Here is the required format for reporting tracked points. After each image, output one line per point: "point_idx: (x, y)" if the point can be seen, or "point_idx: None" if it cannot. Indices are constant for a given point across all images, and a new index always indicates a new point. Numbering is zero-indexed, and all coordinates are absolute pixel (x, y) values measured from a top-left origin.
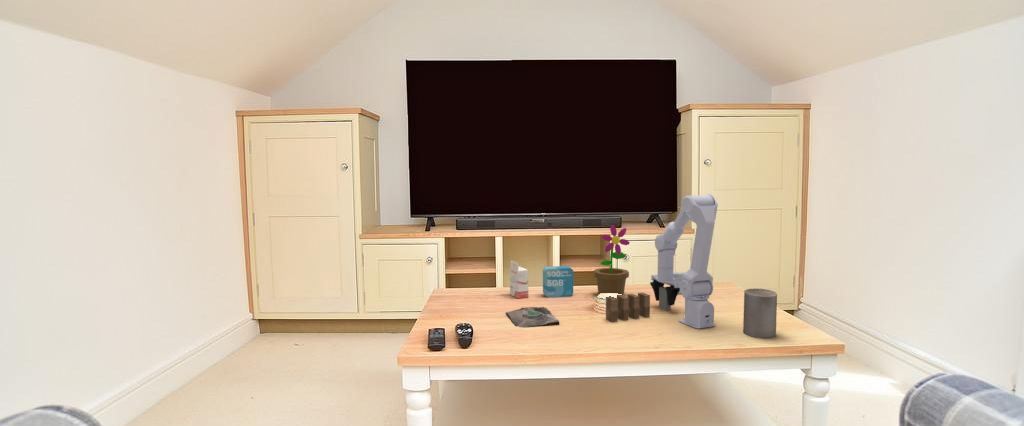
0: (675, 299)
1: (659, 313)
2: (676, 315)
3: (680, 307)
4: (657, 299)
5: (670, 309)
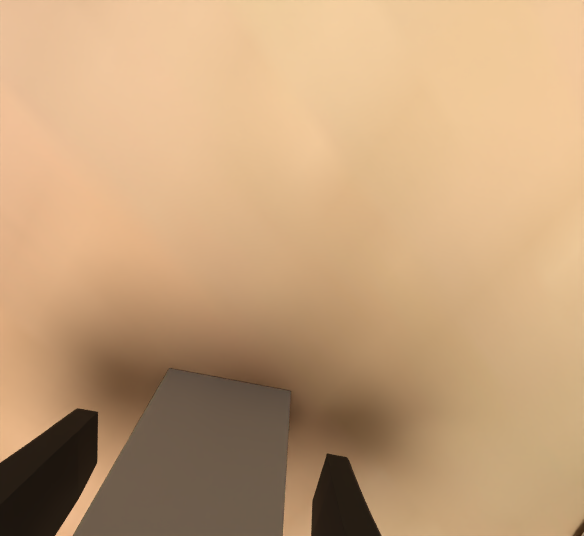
0: (376, 526)
1: (300, 519)
2: (436, 471)
3: (274, 223)
4: (87, 471)
5: (289, 400)
